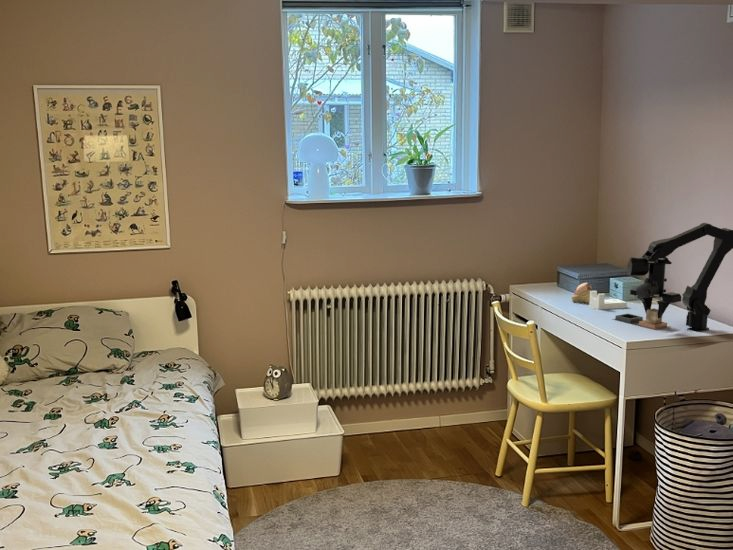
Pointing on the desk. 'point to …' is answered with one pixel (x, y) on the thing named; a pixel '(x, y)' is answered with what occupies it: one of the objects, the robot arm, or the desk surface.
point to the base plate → (639, 321)
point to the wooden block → (653, 316)
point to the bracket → (604, 302)
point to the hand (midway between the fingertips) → (653, 316)
